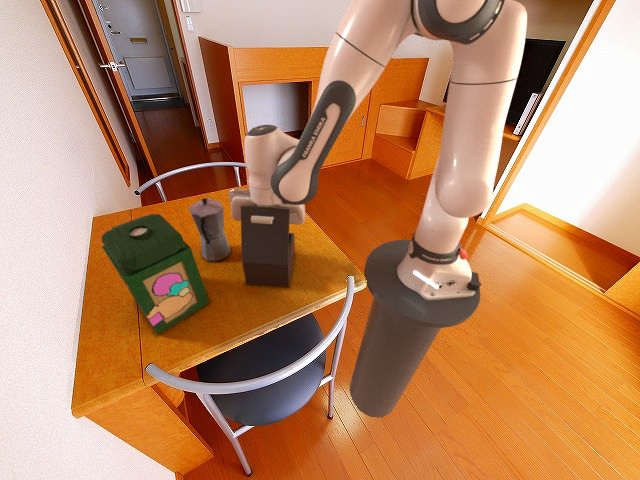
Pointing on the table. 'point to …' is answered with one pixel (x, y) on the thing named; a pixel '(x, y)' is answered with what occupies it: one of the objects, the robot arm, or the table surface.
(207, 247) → the moka pot
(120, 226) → the container
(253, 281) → the dark carry box
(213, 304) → the table surface
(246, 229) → the lid
